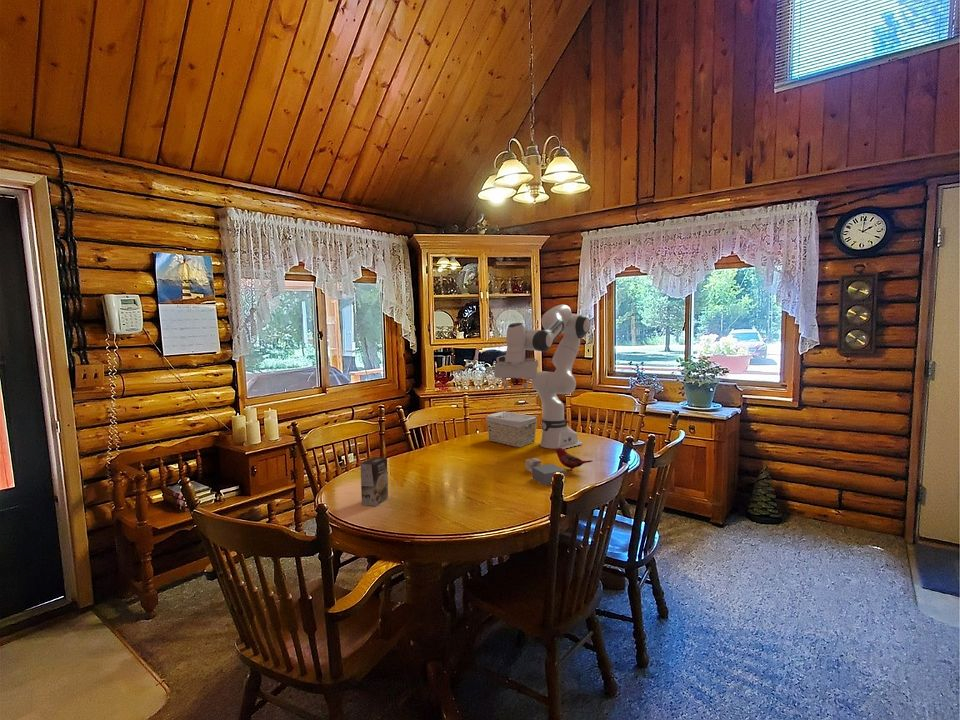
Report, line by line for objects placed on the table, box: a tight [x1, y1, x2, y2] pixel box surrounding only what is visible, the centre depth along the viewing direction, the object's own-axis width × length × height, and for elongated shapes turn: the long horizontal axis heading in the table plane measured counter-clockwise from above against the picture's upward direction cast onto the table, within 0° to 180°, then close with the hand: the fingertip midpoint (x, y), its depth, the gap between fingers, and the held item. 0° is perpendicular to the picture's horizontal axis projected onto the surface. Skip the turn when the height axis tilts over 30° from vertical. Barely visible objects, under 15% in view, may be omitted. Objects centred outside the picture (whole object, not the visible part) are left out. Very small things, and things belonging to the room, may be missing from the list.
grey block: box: [531, 463, 566, 486], centre depth 214 cm, size 10×10×5 cm
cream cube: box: [525, 457, 542, 474], centre depth 227 cm, size 5×5×5 cm
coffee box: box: [359, 456, 389, 507], centre depth 193 cm, size 9×6×16 cm
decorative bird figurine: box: [554, 448, 593, 472], centre depth 224 cm, size 3×18×10 cm, turn 59°
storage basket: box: [485, 410, 538, 448], centre depth 276 cm, size 24×16×15 cm
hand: (515, 387), depth 237 cm, fingers open, 8 cm apart
